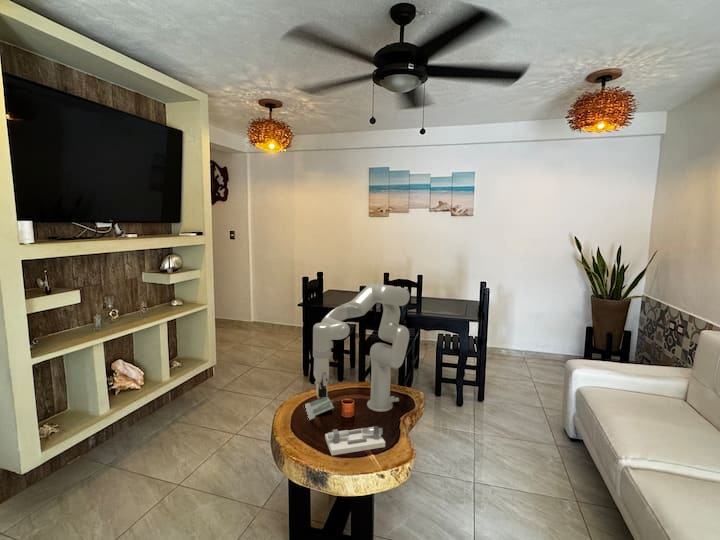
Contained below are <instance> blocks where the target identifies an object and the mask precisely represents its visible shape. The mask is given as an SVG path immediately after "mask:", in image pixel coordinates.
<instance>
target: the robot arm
mask: <svg viewBox="0 0 720 540" xmlns="http://www.w3.org/2000/svg"><path fill="white" fill-rule="evenodd" d="M409 302H410V291H409V290H408V289H406V288H404V287H399V286H394V285H387V284H381V283H377V282H376V283H374V282H373V283H368V285H366V286H365V287H364V288H363V289H362V290H361V291H359V293H357V295H356V296H355V297H354V298H353V299H352V300H351V301H349V302H346V303H344V304H341V305H339V306H337V307H335V308H334V309H332V310H331V311H329V312H328V313H327V314H326V315H325V316H324V317H323V318H322V320H321V322H317V323H315V324H314V325H313V327H312V357H313V373H312V374H313V377H314V379H315V381H317V382H318V383H319V384H320V388H319V398H318V399H323V397H327V398H328V383H327V384H326V381H327V382H328V381H329V379H330V361H329V360H330V358H331V356H332V341H333V340H334V341H335V340H336V341H338V340H339V341H340V340H343V339H345V338H347V337H348V336H349V335H350V332H351V331H350V330H351V329H350V326H349V324H348V323H346V321H345V320H347V319H353V318H359V317H362V316H365V315H366V314H367V313H368V312H369V310H370V309H372V307H374V306H375V304H377V303H379V304H382V307H383V308H382V310H383V312H382V316H381V321H380V324H379V328H378V333H377V334H378V338H379V339H381V340H382V341H384V342H387V343H391V344H392V345H390V344H386V343H383V342H375V343H374V344H372V345H371V347H370V351H369V356H370V365H371V366H370V368H371V374H370V375H371V376H370V377H371V378H370V399H368V401H366V406H367V408H368V409H369V410H371V411H374V412H378V413H379V412H380V413H382V412H383V413H384V412H388V411H390V410H392V409H393V403H397V402H400V398H399V397H396V396H395V395H391V376H392V372H391V370H392V369H396V370H397V369H399V368H400V367H401V366H402V365H403V363H404V360H405V357H406V354H407V350H408V346H409V341H410V331H409V329H408V328H407V327H406V326H405V325H401V324H399V323H400V319H401V318H400V317H401V309H400V307H403V306H405V305H407V304H408V303H409ZM344 321H345V322H344ZM321 380H323V381H321ZM329 382H330V381H329ZM321 383H323V384H322V385H321Z"/></svg>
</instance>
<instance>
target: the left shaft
mask: <svg viewBox="0 0 720 540" xmlns="http://www.w3.org/2000/svg"><path fill="white" fill-rule="evenodd" d="M372 427H373V428H370V427H362V428H361V429H362V434H373V437H374V439H379V434H380V435H383V434H384V433H383V432H384V431H383V427H379V425H373V426H372Z"/></svg>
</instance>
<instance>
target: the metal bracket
mask: <svg viewBox="0 0 720 540" xmlns="http://www.w3.org/2000/svg"><path fill="white" fill-rule="evenodd" d="M304 404H305V408H306V410H305V413H306V412H307V413H306V414H307V415H308V416H307V415H306V416H307V417H308V418H309V420H308V421H312V420H315V419H316V416H318V415H320V414H323V413H326V412H328V411H334V409H335V406H334V404H333V400H332V399H331V400H330V398H329V397H328V396H327V397H325V398H318V399H315V400H313V401H310V402H307V403H304ZM305 408H304V409H305ZM308 418H307V419H308Z"/></svg>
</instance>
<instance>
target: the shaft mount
mask: <svg viewBox="0 0 720 540" xmlns="http://www.w3.org/2000/svg"><path fill="white" fill-rule="evenodd" d="M369 428H373V426H371V427H370V426H369ZM324 439H325V441H326V445H327V448H328V450H329V452H330V454H331V456H337V455H343V454H349V453H355V452H363V451H369V450H373V449H374V450H375V449H380V448H381V449H382V448H386V441H385V439H384V438H383V437H382V434H379V439H374V437H373V434H362V428H357V429H356V428H355V429H350V430H348V429H344V430H338V428H336V429H335V428H334V429H332V431H330V432H327V433H325V434H324Z"/></svg>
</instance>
